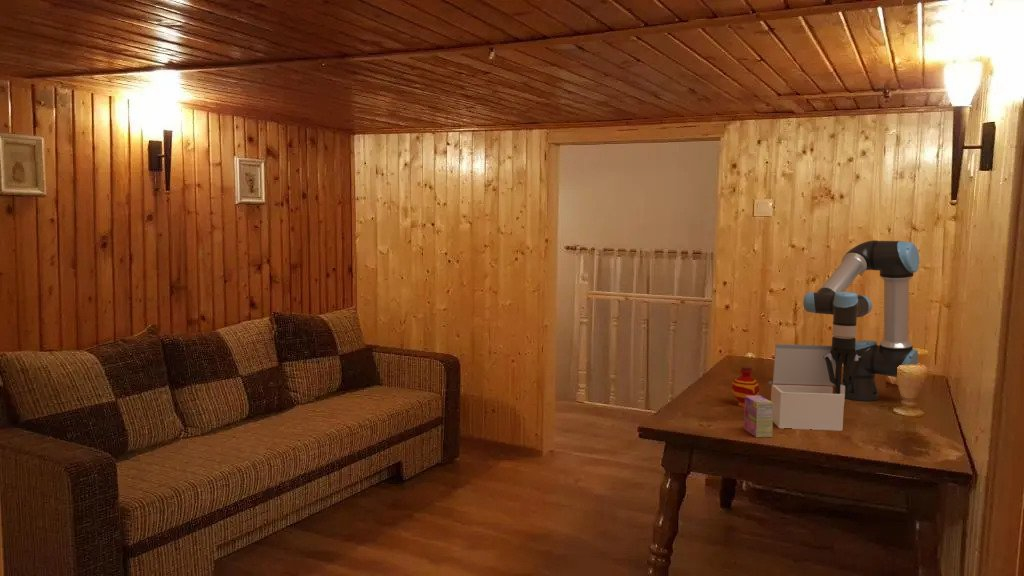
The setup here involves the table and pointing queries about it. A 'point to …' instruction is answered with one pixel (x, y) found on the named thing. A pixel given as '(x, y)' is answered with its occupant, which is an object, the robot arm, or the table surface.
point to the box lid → (802, 365)
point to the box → (758, 416)
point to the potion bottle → (745, 386)
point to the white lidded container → (807, 407)
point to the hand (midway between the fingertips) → (840, 403)
